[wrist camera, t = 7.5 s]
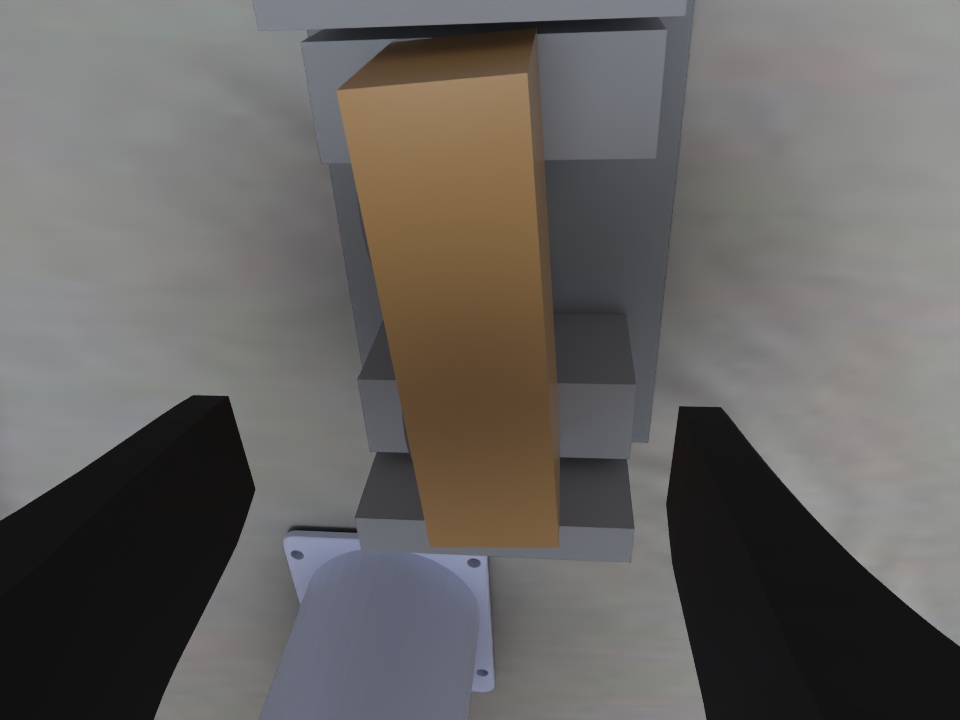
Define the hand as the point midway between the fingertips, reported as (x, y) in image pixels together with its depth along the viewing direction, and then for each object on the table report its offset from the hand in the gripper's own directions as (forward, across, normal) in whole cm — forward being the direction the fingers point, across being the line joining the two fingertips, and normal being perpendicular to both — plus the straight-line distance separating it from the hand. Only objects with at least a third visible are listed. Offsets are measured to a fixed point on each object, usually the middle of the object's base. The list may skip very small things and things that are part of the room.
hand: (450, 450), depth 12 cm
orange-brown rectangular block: (+6, 0, 0) cm, 6 cm away
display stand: (+10, 0, 0) cm, 10 cm away
